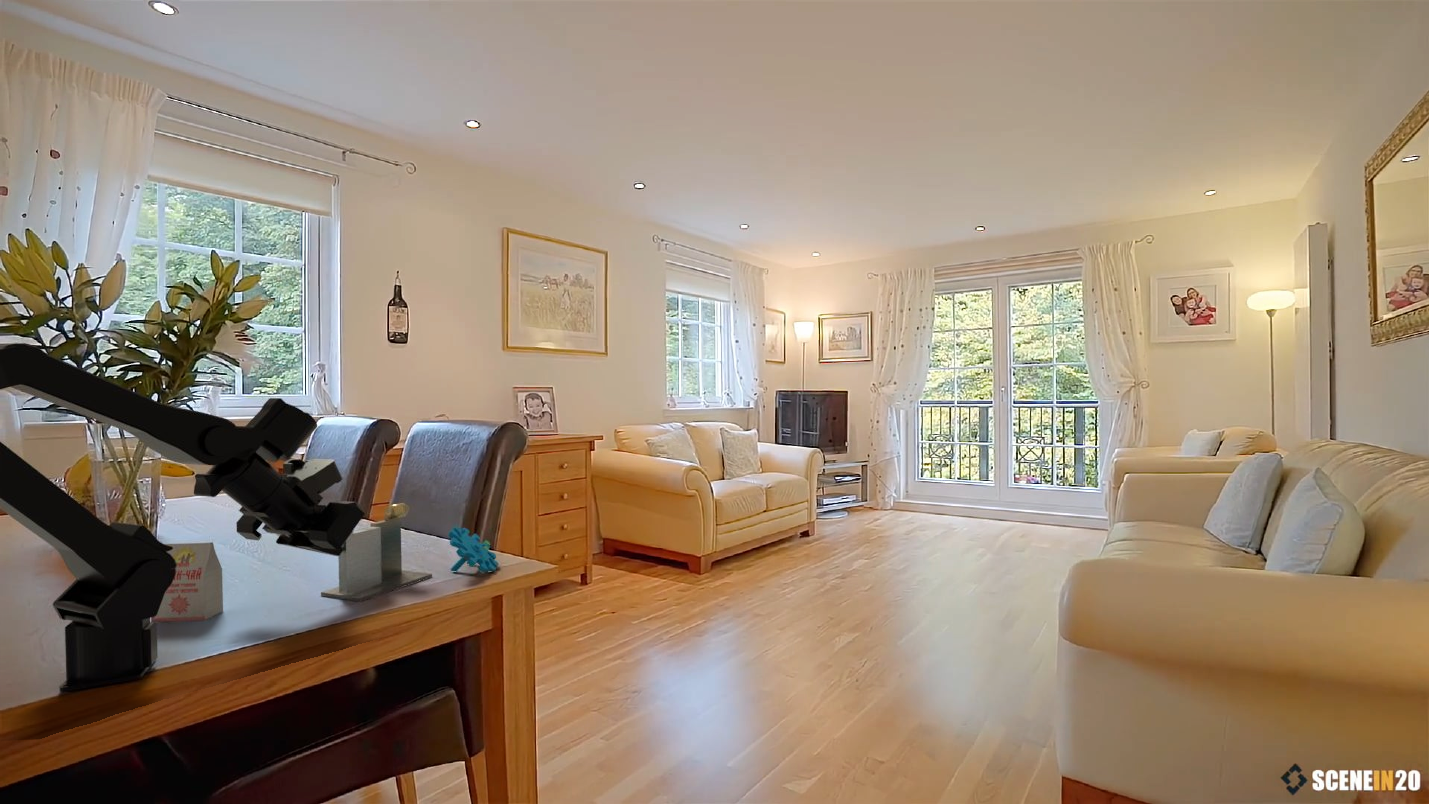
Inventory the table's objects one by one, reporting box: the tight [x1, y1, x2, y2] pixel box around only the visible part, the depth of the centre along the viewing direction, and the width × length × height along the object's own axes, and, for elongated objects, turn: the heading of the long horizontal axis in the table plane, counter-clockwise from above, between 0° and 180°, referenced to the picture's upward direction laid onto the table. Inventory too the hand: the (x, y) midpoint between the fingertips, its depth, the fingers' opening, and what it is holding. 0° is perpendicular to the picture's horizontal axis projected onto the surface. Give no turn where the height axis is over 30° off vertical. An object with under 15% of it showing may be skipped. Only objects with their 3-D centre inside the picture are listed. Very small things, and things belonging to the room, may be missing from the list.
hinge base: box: [320, 502, 433, 602], centre depth 104 cm, size 14×8×12 cm, turn 158°
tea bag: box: [150, 541, 224, 623], centre depth 91 cm, size 4×7×10 cm, turn 94°
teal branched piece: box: [447, 525, 500, 574], centre depth 112 cm, size 11×6×10 cm
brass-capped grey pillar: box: [337, 526, 382, 594], centre depth 100 cm, size 7×4×11 cm, turn 158°
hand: (339, 553), depth 97 cm, fingers closed
